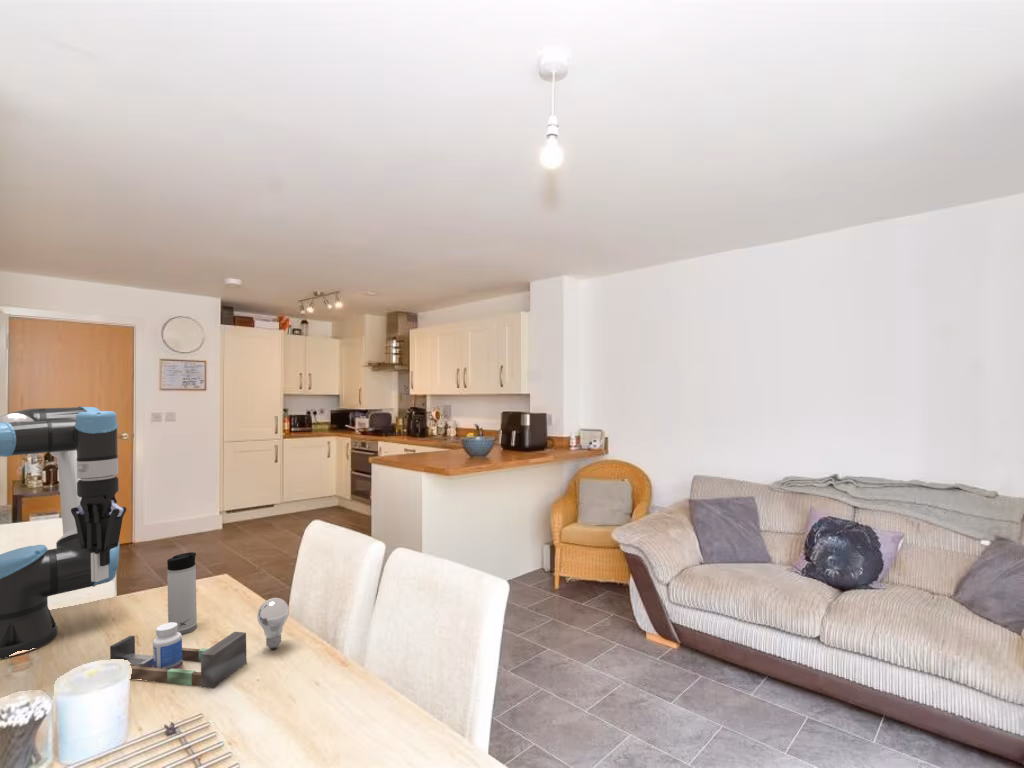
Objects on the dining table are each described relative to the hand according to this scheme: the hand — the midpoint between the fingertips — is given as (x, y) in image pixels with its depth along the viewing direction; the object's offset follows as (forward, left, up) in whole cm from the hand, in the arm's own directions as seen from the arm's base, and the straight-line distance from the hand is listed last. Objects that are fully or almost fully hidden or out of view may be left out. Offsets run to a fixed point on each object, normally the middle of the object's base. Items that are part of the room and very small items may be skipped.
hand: (100, 579), depth 120 cm
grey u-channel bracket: (+10, 0, -19) cm, 21 cm away
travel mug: (+6, +17, -20) cm, 27 cm away
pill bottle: (+18, 0, -20) cm, 27 cm away
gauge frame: (+22, 0, -19) cm, 29 cm away
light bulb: (+36, +12, -20) cm, 43 cm away
